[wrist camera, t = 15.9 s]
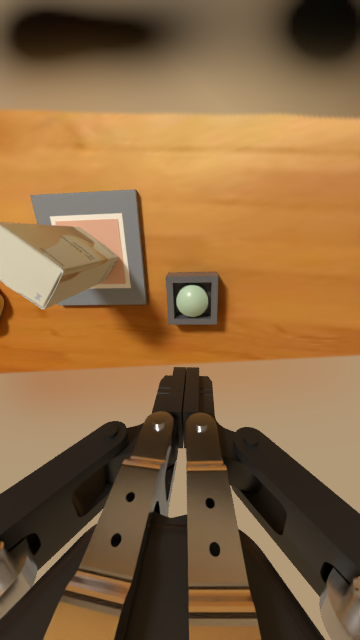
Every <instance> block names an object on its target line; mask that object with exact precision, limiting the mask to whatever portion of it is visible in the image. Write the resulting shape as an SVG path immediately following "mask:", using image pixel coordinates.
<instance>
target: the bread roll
mask: <svg viewBox="0 0 360 640" xmlns="http://www.w3.org/2000/svg"><path fill="white" fill-rule="evenodd" d="M3 308H4V299H3V297H2V296H1V294H0V317H1V312H2V310H3Z"/></svg>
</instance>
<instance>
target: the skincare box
mask: <svg viewBox="0 0 360 640" xmlns="http://www.w3.org/2000/svg"><path fill="white" fill-rule="evenodd" d="M117 260H118V256H117V255H116V254H115V253H114V252H112V251H111V250H110V249H109V248H107V247H106V246H105V245H103V244H102V243H101V242H100V241H98V240H97V239H96V238H94V237H93V236H91V235H90V234H89V233H87V232H86V231H84V230H83V229H82V228H80V227H74V226H56V225H39V224H23V223H6V222H0V281H1V282H2V283H4V284H5V285H6V286H8V287H9V288H11V289H12V290H14V291H15V292H17V293H19V294H20V295H22V296H23V297H25V298H26V299H28V300H29V301H31V302H32V303H34V304H35V305H37V306H38V307H40V308H41V309H43V310H44V309H46V308H48V307H50V306H53V305H55V304H57V303H59V302H61V301H63V300H65V299H68V298H70V297H72V296H74V295H76V294H78V293H81V292H83V291H85V290H87V289H89V288H91V287H93V286H96V285H98V284H100V283H102V282H104V280H105V279H106V277H107V276H108V274H109V273H110V271H111V270H112V268H113V267H114V265H115V263H116V261H117Z"/></svg>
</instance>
